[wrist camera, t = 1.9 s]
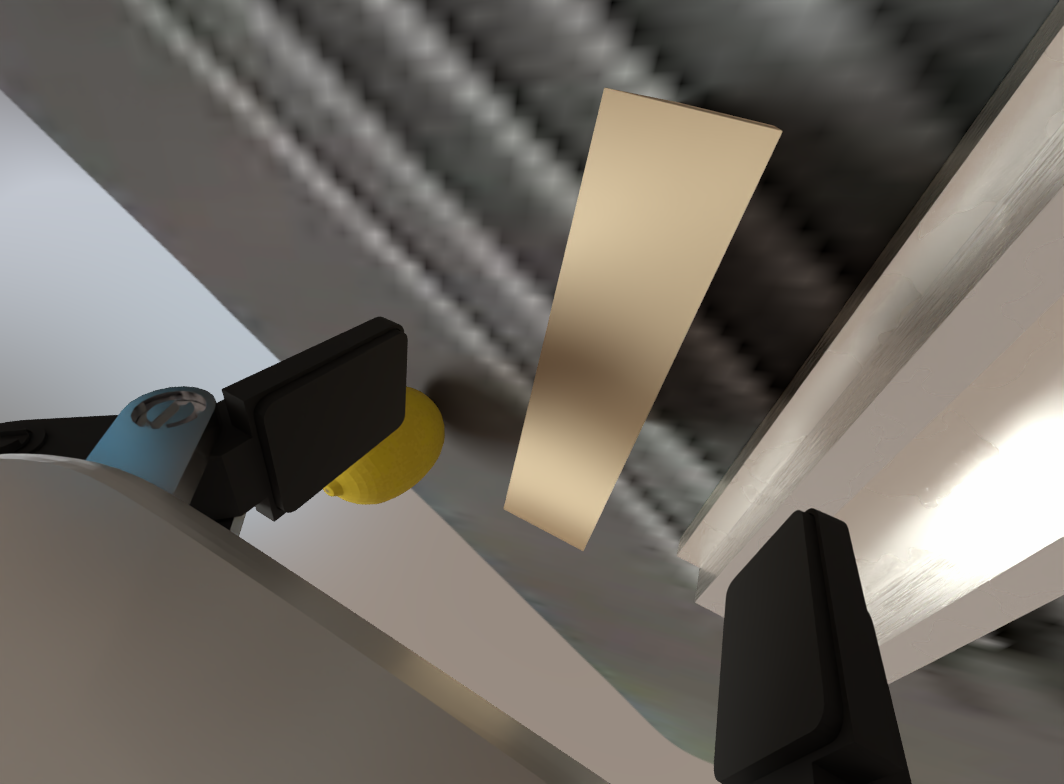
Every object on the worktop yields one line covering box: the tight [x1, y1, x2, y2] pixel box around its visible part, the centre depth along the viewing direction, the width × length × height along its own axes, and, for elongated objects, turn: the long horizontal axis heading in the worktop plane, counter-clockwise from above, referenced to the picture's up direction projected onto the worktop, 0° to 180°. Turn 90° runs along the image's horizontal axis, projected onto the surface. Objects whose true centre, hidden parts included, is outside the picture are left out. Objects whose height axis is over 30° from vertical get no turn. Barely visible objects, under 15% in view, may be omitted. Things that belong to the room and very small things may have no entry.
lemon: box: [323, 387, 445, 504], centre depth 23 cm, size 6×6×8 cm
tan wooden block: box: [504, 88, 783, 551], centre depth 14 cm, size 12×3×8 cm, turn 168°
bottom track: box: [677, 0, 1064, 684], centre depth 13 cm, size 22×10×3 cm, turn 168°
